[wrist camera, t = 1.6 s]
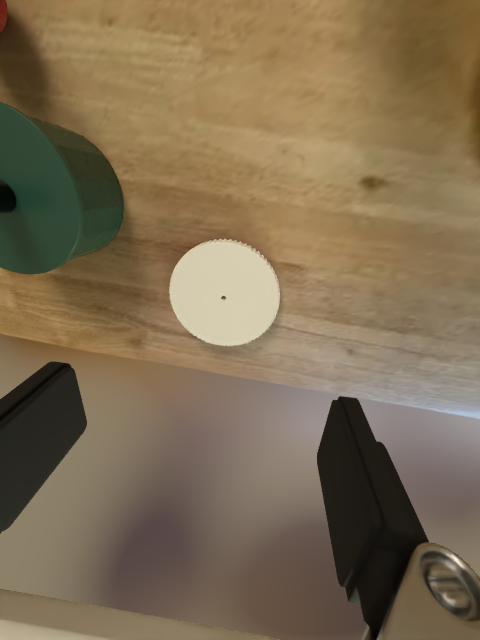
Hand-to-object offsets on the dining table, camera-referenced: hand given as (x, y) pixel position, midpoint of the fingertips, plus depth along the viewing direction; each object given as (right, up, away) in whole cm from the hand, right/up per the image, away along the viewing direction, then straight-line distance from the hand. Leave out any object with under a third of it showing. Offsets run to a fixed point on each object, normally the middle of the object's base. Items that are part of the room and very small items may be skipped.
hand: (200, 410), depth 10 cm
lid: (-20, +15, +15) cm, 29 cm away
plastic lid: (0, +7, +26) cm, 27 cm away
